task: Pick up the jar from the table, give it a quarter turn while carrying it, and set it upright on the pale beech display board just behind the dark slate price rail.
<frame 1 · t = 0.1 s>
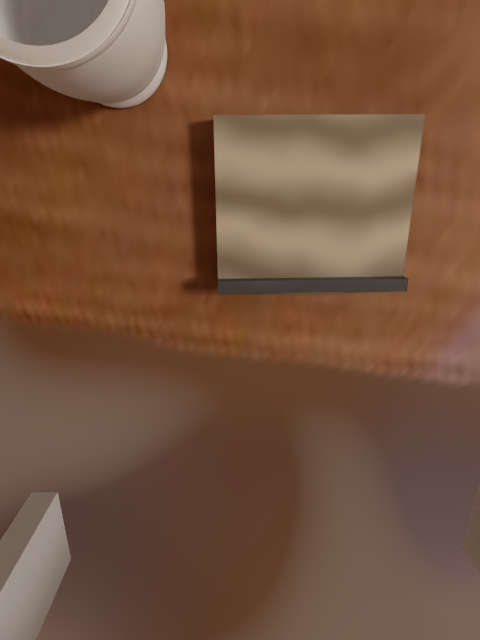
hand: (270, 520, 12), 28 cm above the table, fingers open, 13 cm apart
jar: (117, 53, 31), on the table
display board: (310, 201, 35), on the table
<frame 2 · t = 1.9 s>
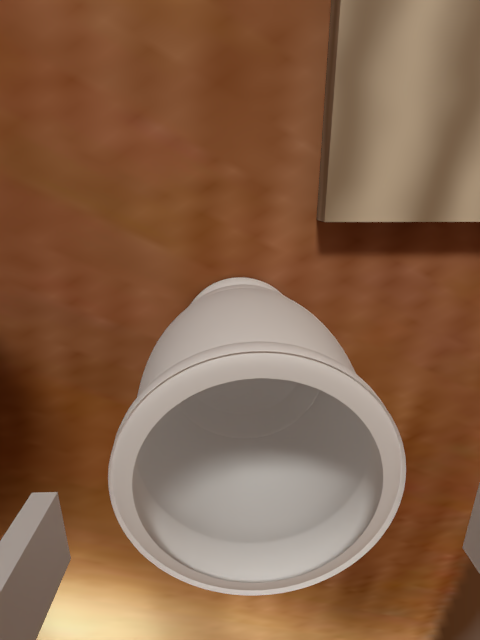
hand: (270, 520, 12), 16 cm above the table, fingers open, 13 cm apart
jar: (240, 332, 27), on the table
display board: (445, 61, 22), on the table
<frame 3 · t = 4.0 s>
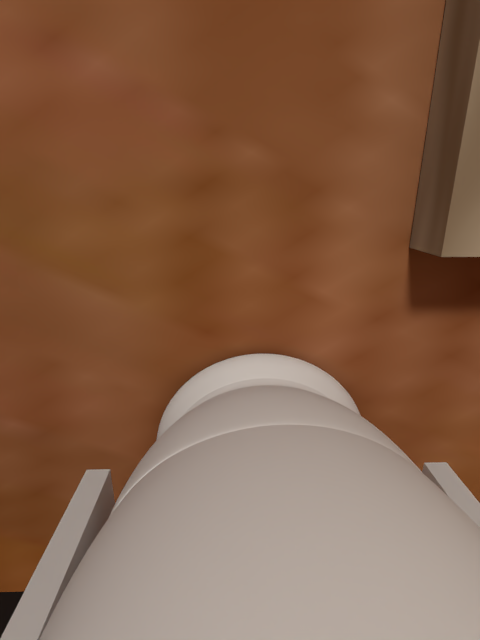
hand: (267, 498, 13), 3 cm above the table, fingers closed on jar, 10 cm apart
jar: (260, 441, 15), on the table, touching gripper
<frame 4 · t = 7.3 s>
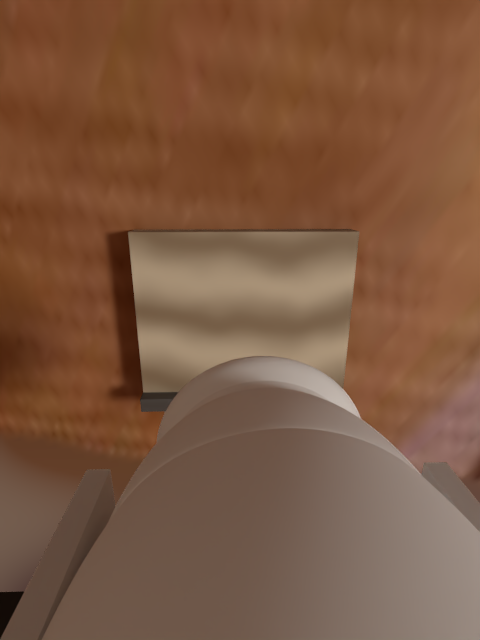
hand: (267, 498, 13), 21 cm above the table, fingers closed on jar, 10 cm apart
jar: (260, 443, 15), point 18 cm above the table, touching gripper
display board: (243, 310, 33), on the table
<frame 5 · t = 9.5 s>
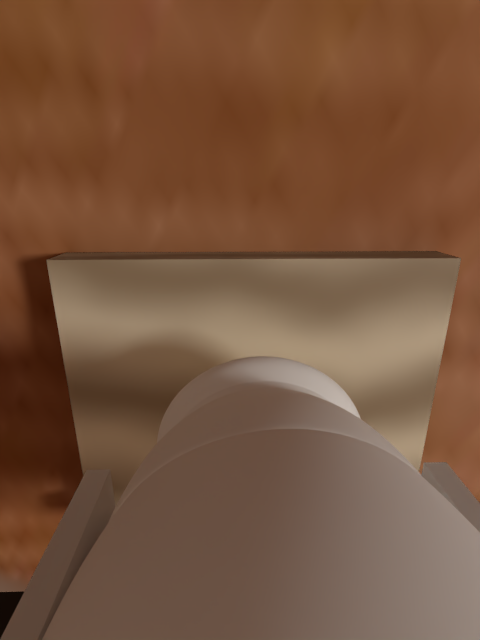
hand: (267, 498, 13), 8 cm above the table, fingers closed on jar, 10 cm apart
jar: (260, 443, 15), point 5 cm above the table, touching gripper
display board: (252, 380, 20), on the table
when the fingers open (6 cm above the table, at t = 11.1 s): jar stays where it is, resting on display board.
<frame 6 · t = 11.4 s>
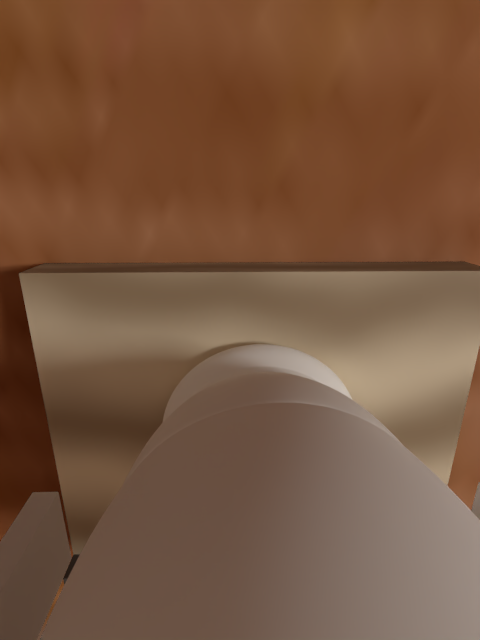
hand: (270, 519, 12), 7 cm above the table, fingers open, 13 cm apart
jar: (259, 427, 16), point 2 cm above the table, touching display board
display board: (255, 405, 18), on the table
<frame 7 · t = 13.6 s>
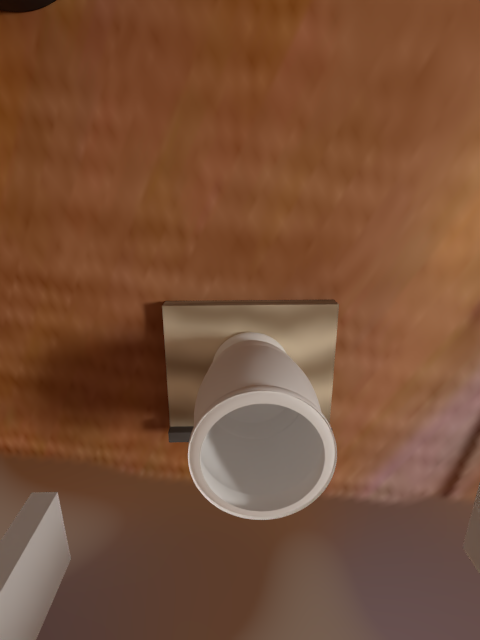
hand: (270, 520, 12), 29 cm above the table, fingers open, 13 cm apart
jar: (250, 367, 40), point 2 cm above the table, touching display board
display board: (249, 360, 41), on the table
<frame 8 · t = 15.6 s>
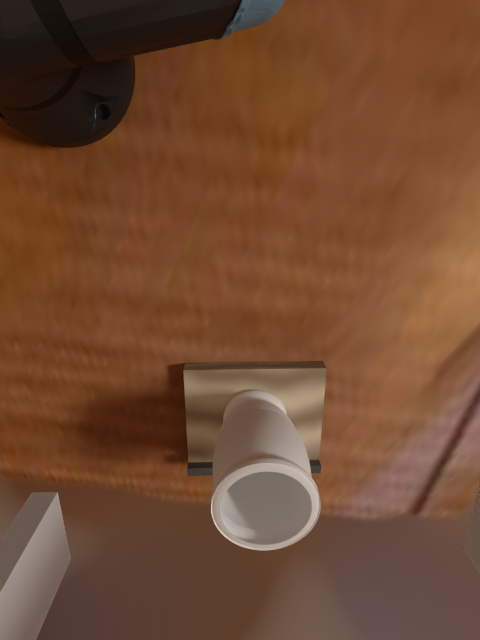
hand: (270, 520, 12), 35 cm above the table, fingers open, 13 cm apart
jar: (254, 416, 49), point 2 cm above the table, touching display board
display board: (253, 408, 50), on the table
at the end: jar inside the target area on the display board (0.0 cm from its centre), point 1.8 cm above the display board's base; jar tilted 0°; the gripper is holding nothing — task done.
